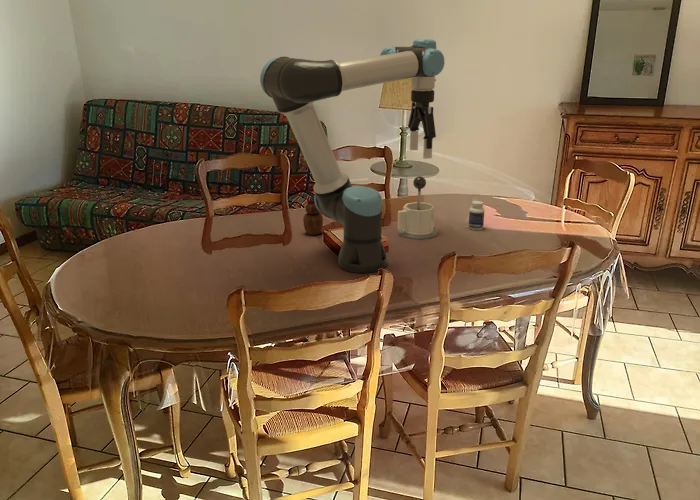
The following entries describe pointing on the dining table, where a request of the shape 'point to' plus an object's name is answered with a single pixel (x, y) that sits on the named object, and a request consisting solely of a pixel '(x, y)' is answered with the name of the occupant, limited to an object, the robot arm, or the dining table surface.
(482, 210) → the pill bottle
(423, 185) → the plunger
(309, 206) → the wooden figurine
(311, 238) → the dining table surface
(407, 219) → the white faceted cup
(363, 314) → the dining table surface
